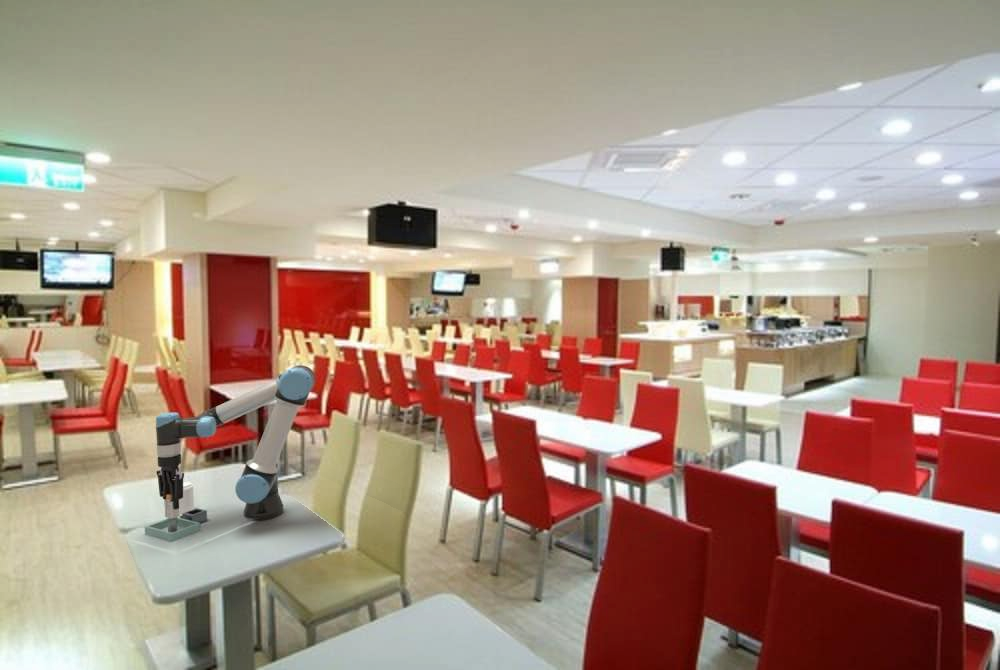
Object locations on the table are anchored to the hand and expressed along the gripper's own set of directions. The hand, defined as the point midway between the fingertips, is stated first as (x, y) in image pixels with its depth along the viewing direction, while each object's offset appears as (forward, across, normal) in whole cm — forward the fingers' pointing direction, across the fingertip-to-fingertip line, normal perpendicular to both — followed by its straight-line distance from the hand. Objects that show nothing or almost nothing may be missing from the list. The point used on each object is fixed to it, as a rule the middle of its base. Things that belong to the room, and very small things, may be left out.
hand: (172, 516), depth 202 cm
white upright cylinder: (+7, +19, -16) cm, 26 cm away
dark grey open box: (+7, +4, -10) cm, 13 cm away
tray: (+7, 0, 0) cm, 7 cm away
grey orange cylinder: (+5, 0, 0) cm, 5 cm away
